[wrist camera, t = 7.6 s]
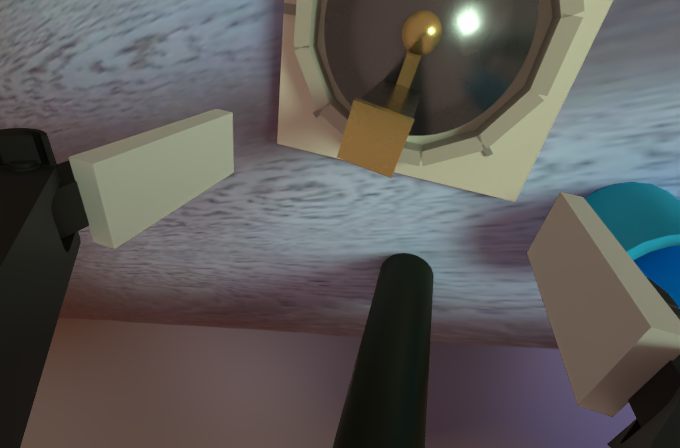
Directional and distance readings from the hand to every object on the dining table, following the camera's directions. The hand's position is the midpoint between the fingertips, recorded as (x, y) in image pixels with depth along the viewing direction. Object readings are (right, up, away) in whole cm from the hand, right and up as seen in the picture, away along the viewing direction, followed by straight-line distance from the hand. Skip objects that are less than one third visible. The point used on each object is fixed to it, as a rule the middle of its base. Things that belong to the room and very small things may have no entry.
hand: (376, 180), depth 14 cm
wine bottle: (+6, -7, +24) cm, 26 cm away
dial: (+5, +12, +11) cm, 17 cm away
